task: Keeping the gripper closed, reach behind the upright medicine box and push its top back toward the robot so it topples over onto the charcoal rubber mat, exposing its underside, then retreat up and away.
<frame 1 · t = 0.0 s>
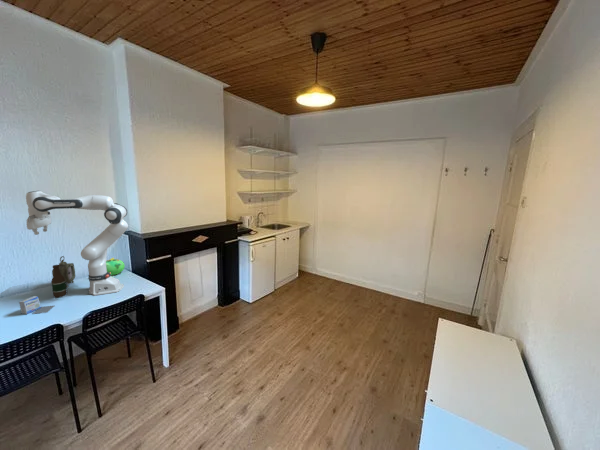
hand: (41, 232, 182), 48 cm above the table, fingers open, 8 cm apart
old metal lantern: (65, 286, 206), on the table
mat: (43, 309, 171), on the table
beer bottle: (60, 295, 191), on the table
toy bird: (113, 274, 231), on the table
medicine box: (31, 311, 169), on the table, touching mat
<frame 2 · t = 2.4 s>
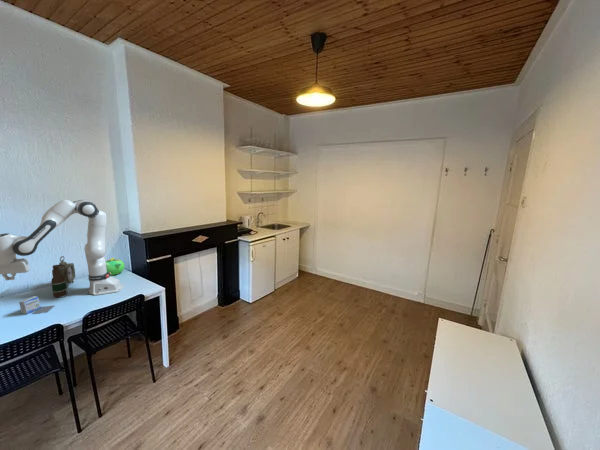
hand: (10, 279, 162), 23 cm above the table, fingers closed
nothing on the table moved.
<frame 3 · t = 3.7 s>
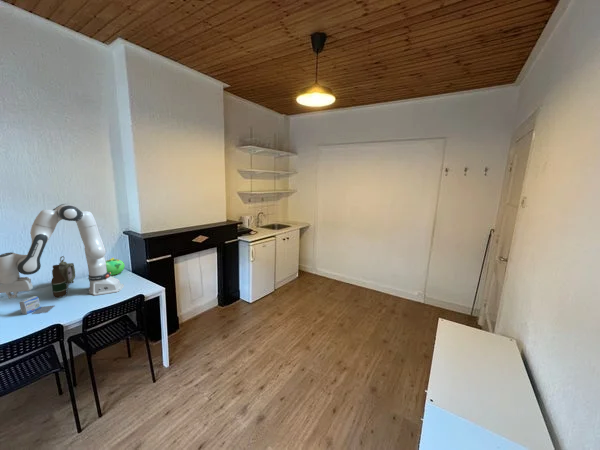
hand: (13, 297, 165), 11 cm above the table, fingers closed
nothing on the table moved.
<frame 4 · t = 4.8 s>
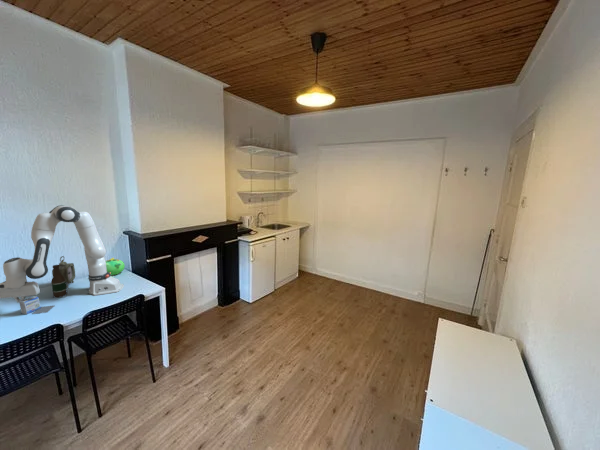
hand: (21, 302, 167), 7 cm above the table, fingers closed
medicine box: (31, 311, 169), on the table, touching gripper, mat
everything else where it was.
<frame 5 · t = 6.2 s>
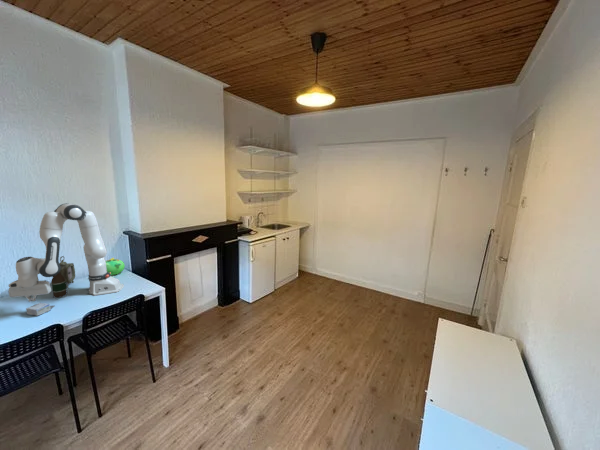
hand: (32, 301, 168), 7 cm above the table, fingers closed
medicine box: (33, 308, 169), point 2 cm above the table, touching mat
everything else where it was.
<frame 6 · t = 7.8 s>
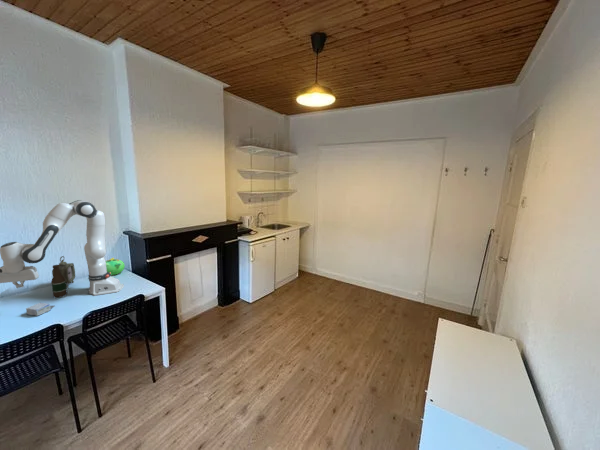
hand: (20, 287, 165), 17 cm above the table, fingers closed
nothing on the table moved.
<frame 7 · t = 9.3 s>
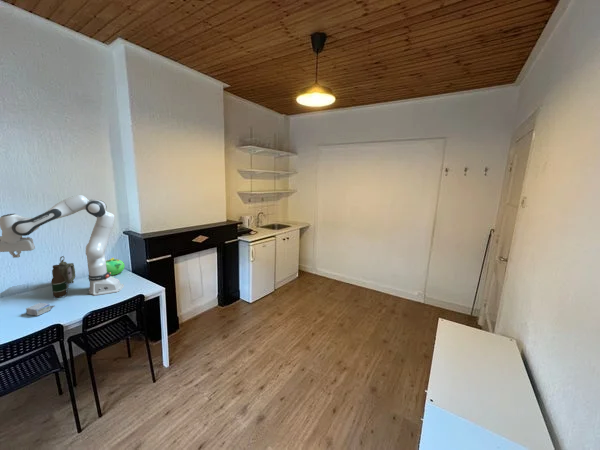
hand: (16, 257, 174), 33 cm above the table, fingers closed
nothing on the table moved.
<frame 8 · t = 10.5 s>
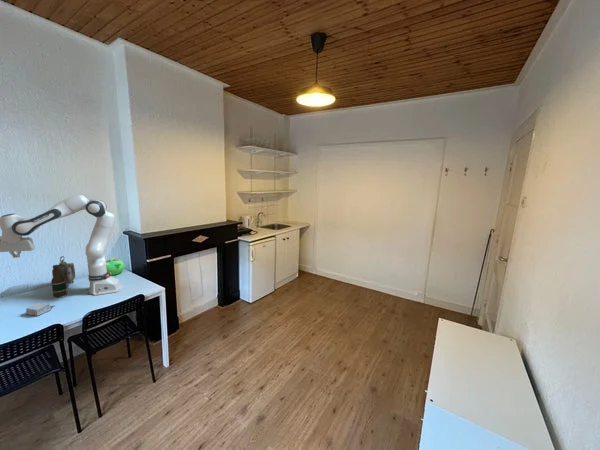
hand: (16, 257, 174), 33 cm above the table, fingers closed
nothing on the table moved.
at the end: medicine box tilted 90°; medicine box inside the target area (2.4 cm from its centre), point 2.4 cm above the table; the gripper is holding nothing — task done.
